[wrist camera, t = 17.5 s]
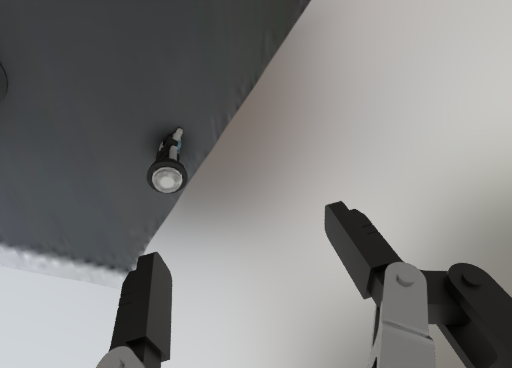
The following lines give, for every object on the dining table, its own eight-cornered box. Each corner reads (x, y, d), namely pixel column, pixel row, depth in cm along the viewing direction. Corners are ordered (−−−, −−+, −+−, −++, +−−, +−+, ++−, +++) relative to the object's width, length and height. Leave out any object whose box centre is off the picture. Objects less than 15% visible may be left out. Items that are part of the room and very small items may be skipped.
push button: (165, 119, 40) (161, 151, 32) (196, 135, 43) (199, 168, 35) (146, 152, 43) (139, 189, 35) (177, 165, 45) (176, 202, 38)
